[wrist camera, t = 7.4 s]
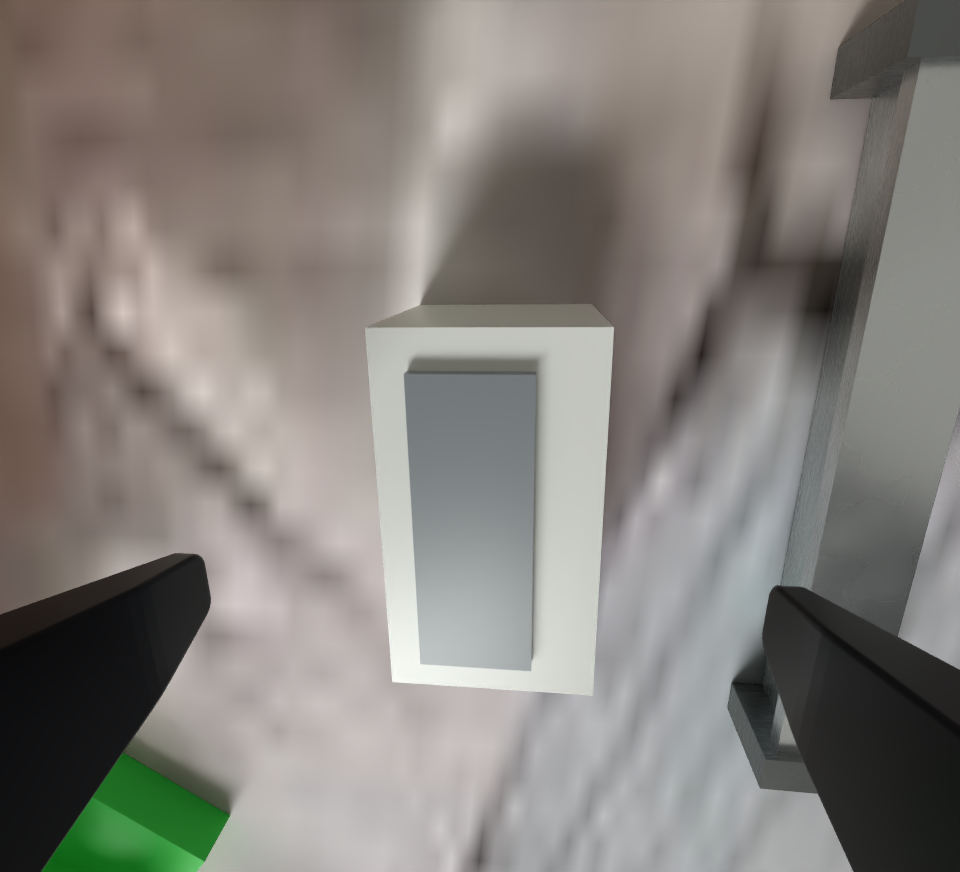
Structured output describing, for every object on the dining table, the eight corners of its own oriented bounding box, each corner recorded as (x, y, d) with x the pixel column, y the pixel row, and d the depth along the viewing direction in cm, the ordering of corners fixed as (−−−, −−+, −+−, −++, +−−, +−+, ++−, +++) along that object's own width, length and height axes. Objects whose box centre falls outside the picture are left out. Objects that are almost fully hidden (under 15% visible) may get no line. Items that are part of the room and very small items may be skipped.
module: (596, 303, 15) (625, 329, 10) (583, 573, 17) (600, 706, 12) (421, 304, 15) (359, 329, 10) (433, 566, 17) (389, 691, 12)
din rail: (988, 41, 12) (1116, -20, 9) (827, 716, 17) (878, 799, 15) (838, 47, 12) (921, -11, 10) (727, 708, 18) (760, 788, 15)
